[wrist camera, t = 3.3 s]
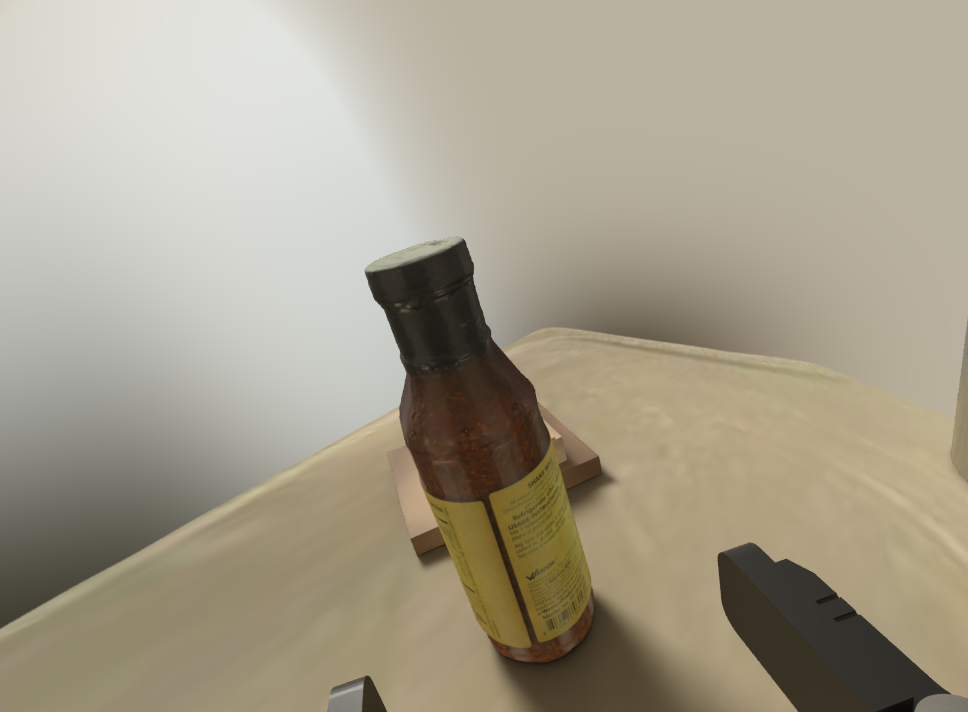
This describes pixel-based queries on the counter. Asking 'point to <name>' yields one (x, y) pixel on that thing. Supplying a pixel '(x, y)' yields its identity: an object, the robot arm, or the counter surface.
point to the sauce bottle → (484, 457)
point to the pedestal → (418, 515)
